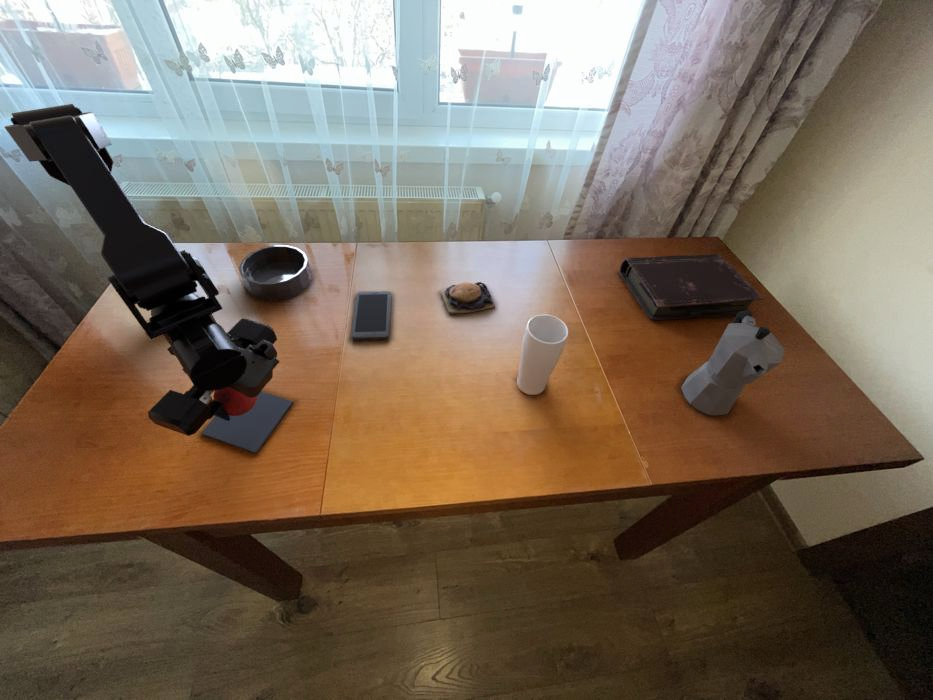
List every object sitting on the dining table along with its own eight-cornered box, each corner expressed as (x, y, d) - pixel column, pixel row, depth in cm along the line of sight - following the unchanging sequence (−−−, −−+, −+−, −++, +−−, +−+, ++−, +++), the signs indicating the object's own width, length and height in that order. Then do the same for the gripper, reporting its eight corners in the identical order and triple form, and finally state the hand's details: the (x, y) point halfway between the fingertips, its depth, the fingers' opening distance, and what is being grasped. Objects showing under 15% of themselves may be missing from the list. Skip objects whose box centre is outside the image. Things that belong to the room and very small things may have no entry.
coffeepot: (737, 432, 70) (809, 369, 57) (681, 417, 72) (739, 351, 58) (726, 368, 80) (786, 301, 67) (678, 355, 82) (726, 287, 68)
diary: (617, 271, 99) (624, 254, 95) (707, 266, 103) (718, 250, 99) (651, 324, 87) (660, 307, 83) (752, 317, 91) (765, 300, 87)
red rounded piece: (251, 428, 62) (231, 400, 56) (216, 421, 63) (193, 391, 57) (270, 398, 66) (254, 368, 60) (238, 391, 66) (218, 361, 60)
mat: (201, 434, 64) (200, 433, 63) (243, 386, 70) (242, 385, 70) (256, 453, 62) (255, 452, 62) (293, 402, 69) (292, 401, 68)
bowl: (233, 291, 86) (224, 274, 82) (271, 256, 94) (265, 239, 91) (289, 307, 84) (283, 290, 80) (323, 269, 92) (319, 253, 89)
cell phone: (351, 340, 78) (350, 337, 78) (357, 293, 88) (356, 291, 87) (389, 339, 79) (389, 336, 79) (391, 293, 88) (390, 290, 88)
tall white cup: (551, 376, 76) (572, 320, 65) (544, 404, 72) (565, 349, 60) (517, 366, 77) (531, 309, 66) (508, 393, 73) (521, 336, 61)
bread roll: (449, 317, 85) (449, 304, 82) (439, 291, 90) (439, 278, 87) (496, 309, 87) (498, 296, 84) (484, 284, 92) (485, 272, 90)
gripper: (196, 414, 44) (245, 473, 56) (293, 306, 56) (317, 374, 68) (113, 385, 46) (178, 449, 58) (225, 287, 58) (260, 356, 70)
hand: (240, 403), depth 63 cm, fingers closed on red rounded piece, 6 cm apart
